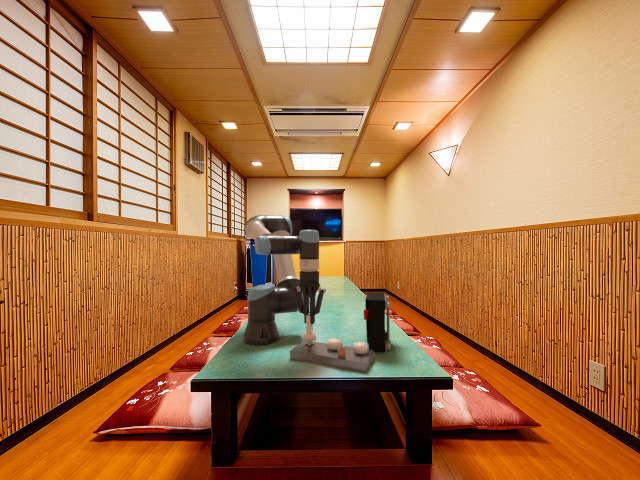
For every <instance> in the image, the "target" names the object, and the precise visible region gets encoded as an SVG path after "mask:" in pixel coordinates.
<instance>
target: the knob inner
mask: <svg viewBox="0 0 640 480" xmlns="http://www.w3.org/2000/svg"><path fill="white" fill-rule="evenodd" d="M302 340H303V341H307V346H310V347H312V341H313V342H316V340H317V332H316V331H314V330H313V332H311V333H306V330H305V331H302Z"/></svg>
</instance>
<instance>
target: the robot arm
mask: <svg viewBox="0 0 640 480" xmlns="http://www.w3.org/2000/svg"><path fill="white" fill-rule="evenodd" d="M244 232H245V234H246V236H248V237H249V238H251V239H253V240H254V250H255V254H257V255H260V256H261V255H262V256H267V255H269V256H271V255H273V257H274V263H275V267H276V268H275V269H276V274H277V278H278V282H277V284H276V286H275V284H274V283H268V284H267V283H266V284H258V285H254V286H253V287H250V288H249V290H248V292H247V300H246V301H247V324H246V325H245V327H246V328H245V330H244V333H243V342H244V343H245V344H248V345H254V346H259V345H268V344H269V345H270V344H273V343H275V342H277V341H279V340H280V332H279V330H278V326H277V322H276V315H277V314H278V315H279V314H287V313H298V312H299V313H300V314H303V322H304V324H305V327H306V329H305V331H306V333H311V332H313V331H314V324H315V323H316V318H315V317H316V315H318V314H319V313H320V312H321V308H322V303H323V298H324V295H325V293H326V291H327V290H326V288H323V287H321V284H320V271H319V269H320V233H319V231H318V230H316V229H301V230H300V231H299V235H292V234H293V224H292V220H291V218H290V217H288V216H285V215H265V214H260V215H255V216H252V217H250V218H249V219H247V221H245V224H244ZM292 255H299V270H300V271H299V278H298V277H297V274H296V269H295V266H294V265H295V264H294V260H293V256H292ZM317 292H318V295H317V294H316V293H317ZM316 295H317V298H316Z"/></svg>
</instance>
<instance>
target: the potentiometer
mask: <svg viewBox="0 0 640 480" xmlns="http://www.w3.org/2000/svg"><path fill="white" fill-rule="evenodd" d="M343 346H344V341H341V342H340V347H338V357H339V358H345V347H343Z"/></svg>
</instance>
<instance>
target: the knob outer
mask: <svg viewBox="0 0 640 480" xmlns="http://www.w3.org/2000/svg"><path fill="white" fill-rule="evenodd" d="M352 345H353V346H352V347H353V351H354V352H355V353H358V354H362V355H363V354H365V353H367V352H368V350H369V343H367V342H365V341H355V342H353V344H352Z"/></svg>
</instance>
